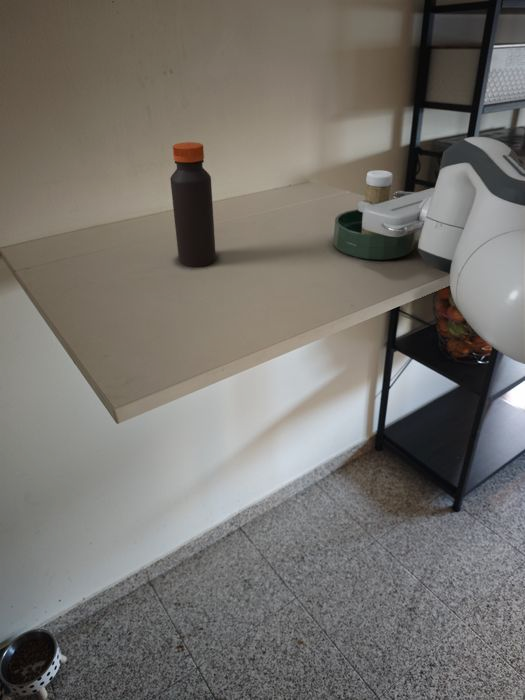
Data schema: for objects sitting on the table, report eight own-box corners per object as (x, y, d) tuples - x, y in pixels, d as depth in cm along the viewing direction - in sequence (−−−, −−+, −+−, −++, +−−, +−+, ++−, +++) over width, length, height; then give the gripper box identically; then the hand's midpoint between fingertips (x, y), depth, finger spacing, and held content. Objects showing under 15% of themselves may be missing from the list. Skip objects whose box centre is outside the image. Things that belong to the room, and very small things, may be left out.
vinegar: (223, 260, 92) (217, 145, 81) (193, 271, 88) (182, 151, 77) (201, 250, 96) (192, 139, 85) (171, 259, 92) (158, 145, 81)
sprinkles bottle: (366, 238, 99) (374, 168, 91) (387, 243, 97) (397, 171, 89) (355, 245, 96) (362, 173, 88) (376, 250, 94) (386, 177, 86)
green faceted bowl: (393, 230, 104) (397, 206, 101) (426, 258, 92) (431, 232, 89) (323, 235, 102) (325, 211, 99) (347, 265, 89) (350, 238, 87)
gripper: (398, 252, 79) (337, 228, 89) (472, 225, 90) (410, 206, 99) (404, 213, 76) (339, 193, 85) (480, 189, 86) (415, 173, 95)
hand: (378, 200), depth 92 cm, fingers open, 8 cm apart
